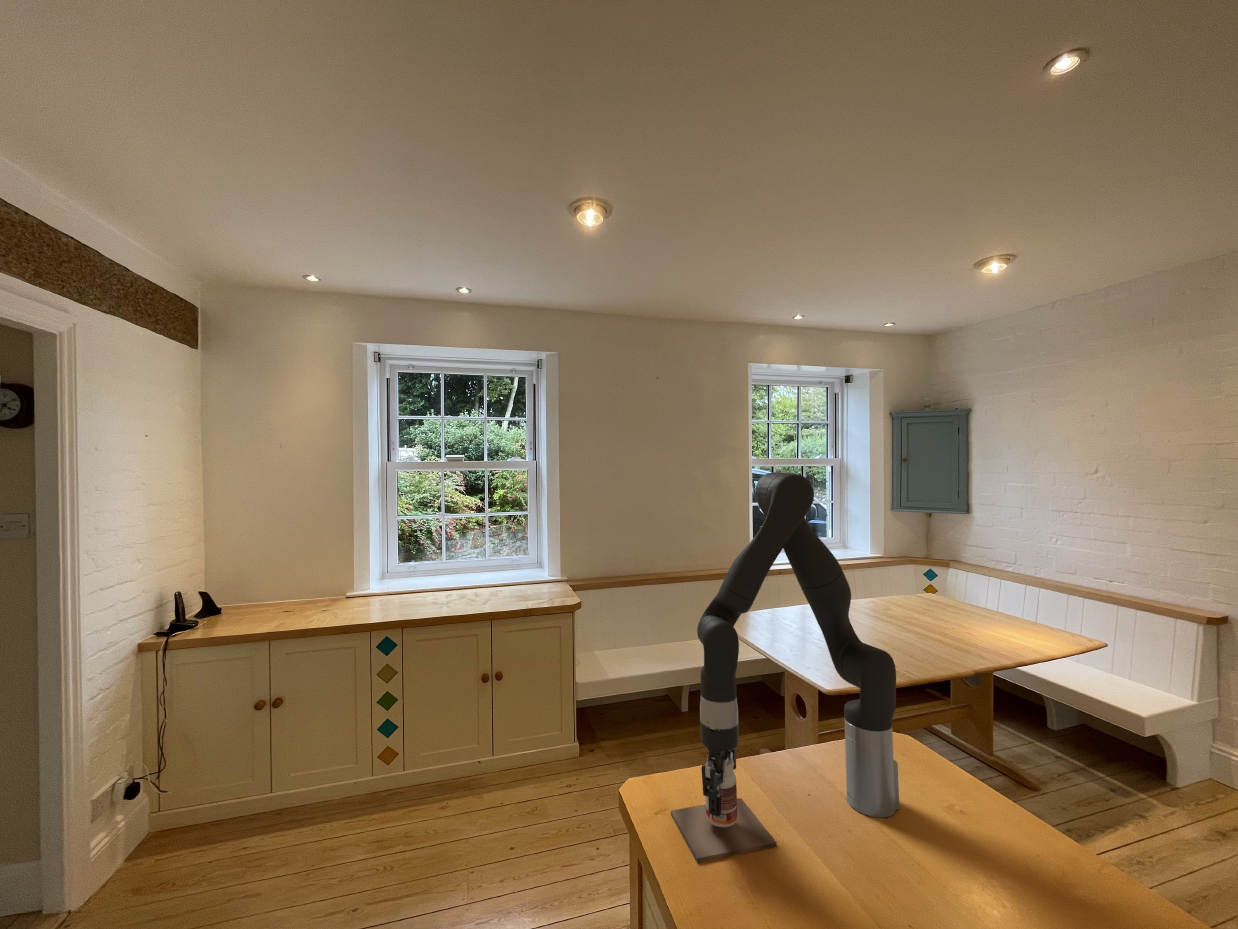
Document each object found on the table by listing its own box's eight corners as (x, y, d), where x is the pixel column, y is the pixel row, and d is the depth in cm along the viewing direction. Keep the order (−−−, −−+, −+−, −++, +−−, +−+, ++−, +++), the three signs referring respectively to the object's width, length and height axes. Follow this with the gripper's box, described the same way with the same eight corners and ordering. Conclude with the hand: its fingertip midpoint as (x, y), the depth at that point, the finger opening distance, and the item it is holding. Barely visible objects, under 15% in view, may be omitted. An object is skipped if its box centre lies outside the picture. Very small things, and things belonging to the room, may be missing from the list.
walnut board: (741, 801, 109) (740, 798, 109) (776, 846, 95) (776, 842, 95) (670, 814, 105) (670, 810, 105) (697, 863, 91) (697, 858, 91)
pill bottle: (744, 821, 99) (742, 761, 100) (721, 833, 96) (720, 771, 96) (721, 804, 104) (720, 748, 105) (699, 815, 101) (697, 757, 101)
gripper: (713, 701, 109) (715, 781, 108) (687, 729, 97) (689, 819, 96) (748, 708, 105) (750, 791, 104) (725, 738, 93) (727, 833, 92)
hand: (721, 804), depth 100 cm, fingers closed on pill bottle, 6 cm apart
